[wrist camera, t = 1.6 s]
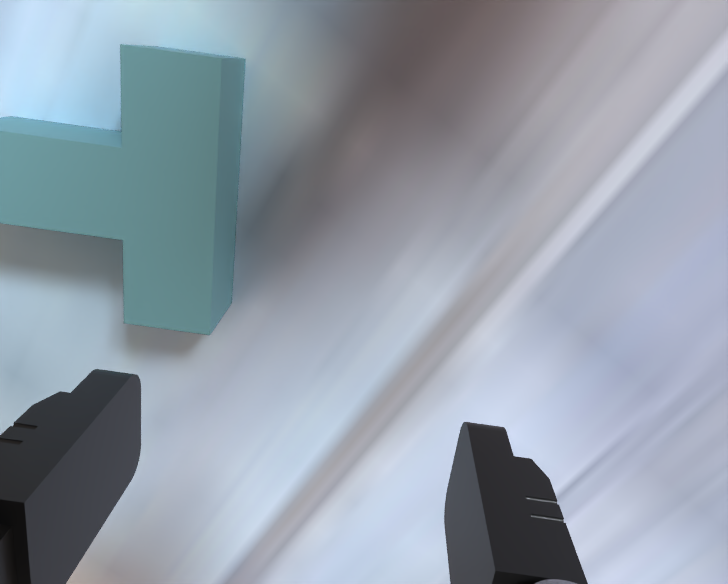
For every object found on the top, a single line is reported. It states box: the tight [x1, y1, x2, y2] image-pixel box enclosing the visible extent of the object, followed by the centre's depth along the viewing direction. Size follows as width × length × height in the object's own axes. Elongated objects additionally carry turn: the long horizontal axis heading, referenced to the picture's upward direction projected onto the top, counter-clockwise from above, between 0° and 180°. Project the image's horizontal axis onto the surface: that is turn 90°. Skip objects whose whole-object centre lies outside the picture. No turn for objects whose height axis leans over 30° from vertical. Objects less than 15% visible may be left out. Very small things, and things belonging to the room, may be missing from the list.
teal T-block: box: [0, 44, 245, 335], centre depth 28 cm, size 11×12×4 cm
